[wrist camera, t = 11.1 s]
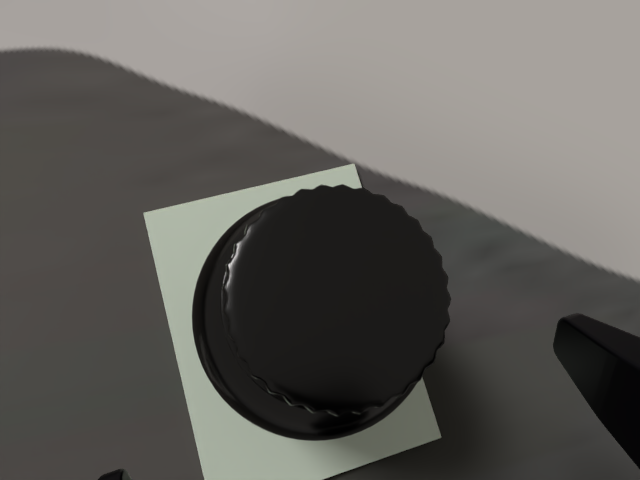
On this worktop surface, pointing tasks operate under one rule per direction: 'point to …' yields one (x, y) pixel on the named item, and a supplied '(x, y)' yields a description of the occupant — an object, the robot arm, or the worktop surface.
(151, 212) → the mat
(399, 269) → the supplement bottle
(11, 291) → the worktop surface
